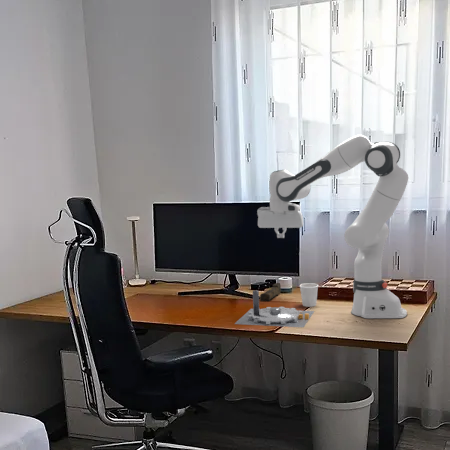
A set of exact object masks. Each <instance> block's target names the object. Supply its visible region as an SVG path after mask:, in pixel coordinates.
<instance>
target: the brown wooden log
mask: <svg viewBox="0 0 450 450" xmlns="http://www.w3.org/2000/svg"><path fill="white" fill-rule="evenodd" d="M281 290H282V287H281V283H280V282H276V283H273V285H272V287H271V288H270V289H268V290H266V291H265V292H263V293H260V294H259V302H263V303H266V302H271V300H272V299H273V298H275V297H276V296H280V294H281Z"/></svg>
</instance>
